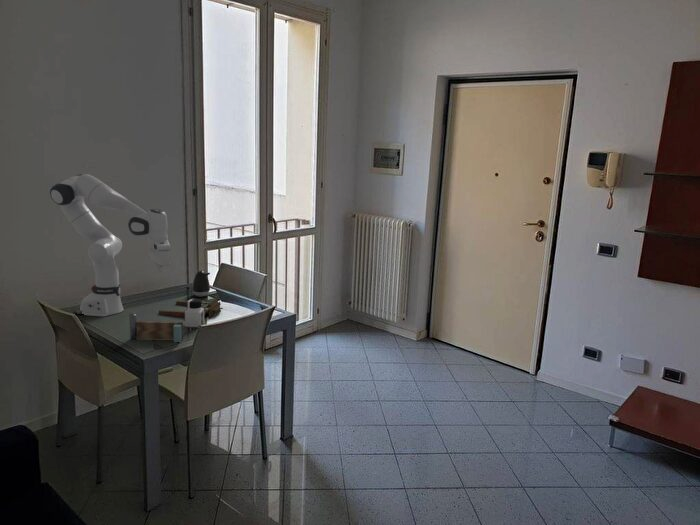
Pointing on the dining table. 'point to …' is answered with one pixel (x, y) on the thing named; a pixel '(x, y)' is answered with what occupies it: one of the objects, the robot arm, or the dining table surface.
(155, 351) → the dining table surface
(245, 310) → the dining table surface
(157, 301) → the dining table surface
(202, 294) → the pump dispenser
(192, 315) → the container
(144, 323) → the gate
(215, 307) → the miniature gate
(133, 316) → the hinge post
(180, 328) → the latch post
